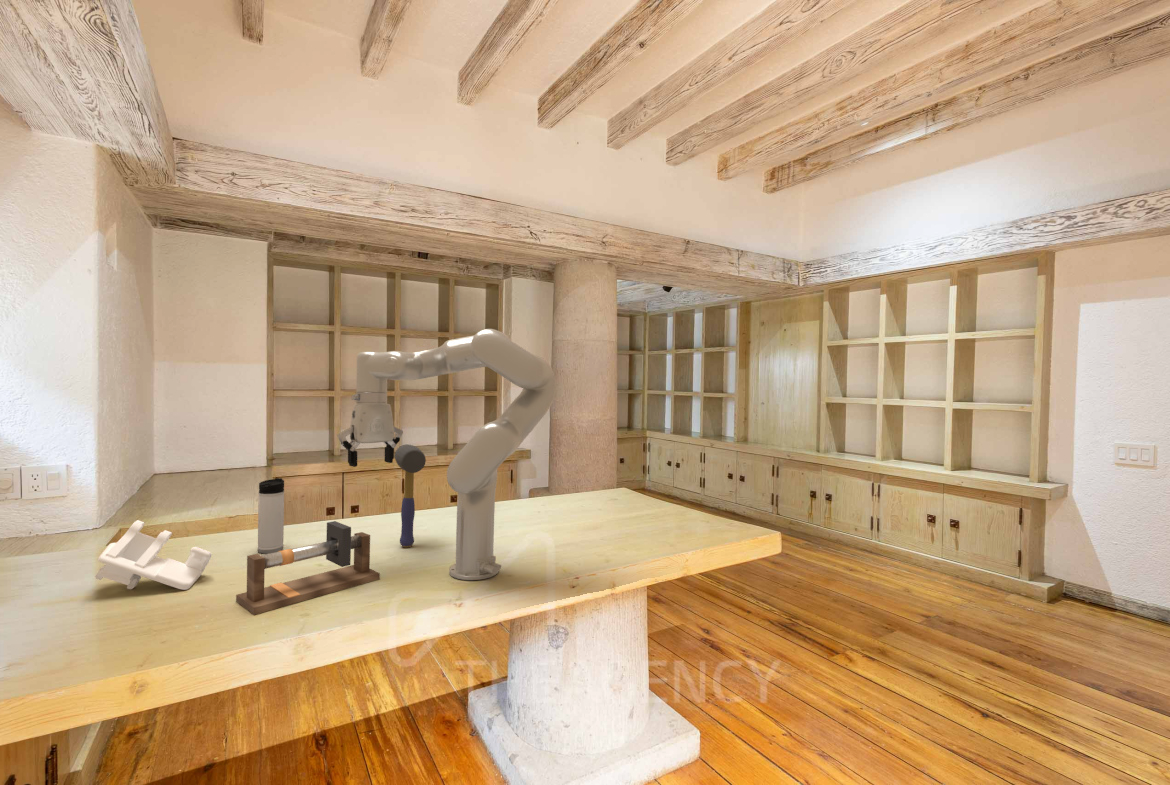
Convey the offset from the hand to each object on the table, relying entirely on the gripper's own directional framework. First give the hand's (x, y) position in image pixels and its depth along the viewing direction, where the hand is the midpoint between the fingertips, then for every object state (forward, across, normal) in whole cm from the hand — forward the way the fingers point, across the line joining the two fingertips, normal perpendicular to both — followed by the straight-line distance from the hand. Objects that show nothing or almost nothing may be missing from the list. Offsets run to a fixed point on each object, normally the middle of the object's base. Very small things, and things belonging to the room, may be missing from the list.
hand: (371, 464), depth 141 cm
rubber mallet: (+27, +15, +9) cm, 32 cm away
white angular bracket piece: (+27, -41, +21) cm, 53 cm away
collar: (+22, -11, -6) cm, 25 cm away
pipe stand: (+27, -17, -6) cm, 32 cm away
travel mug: (+27, -14, +31) cm, 43 cm away
